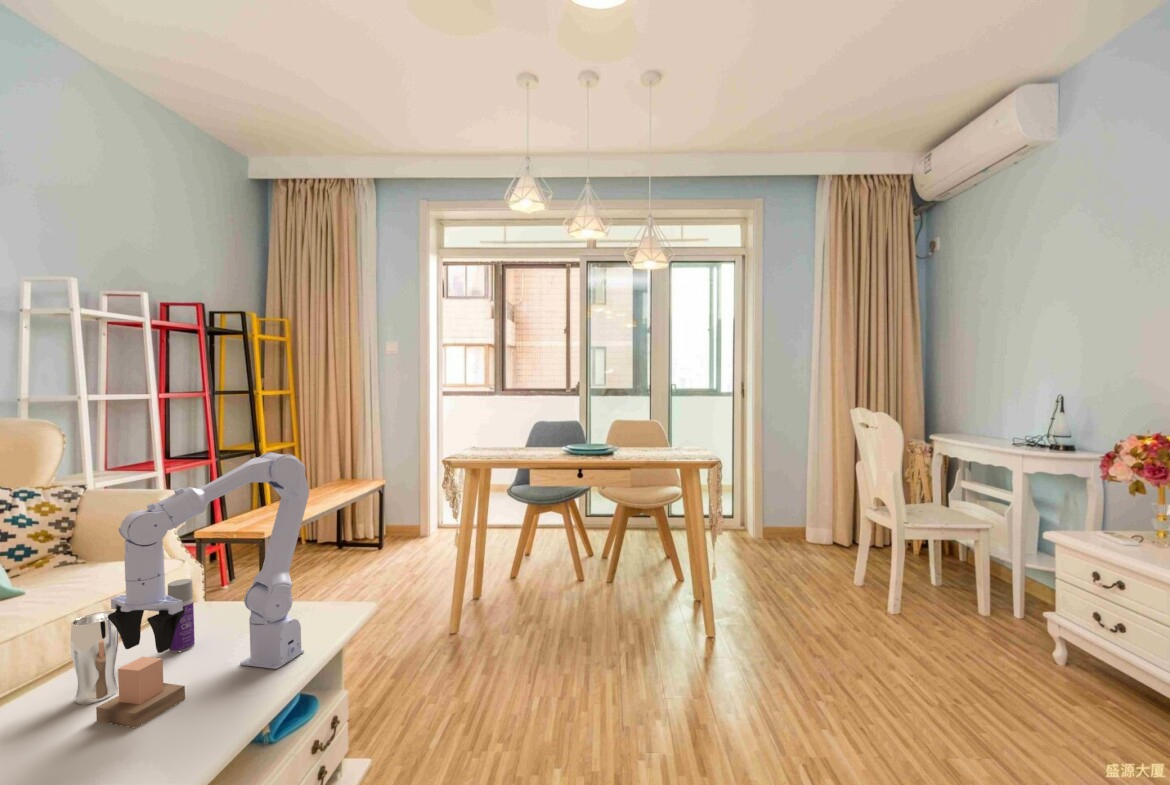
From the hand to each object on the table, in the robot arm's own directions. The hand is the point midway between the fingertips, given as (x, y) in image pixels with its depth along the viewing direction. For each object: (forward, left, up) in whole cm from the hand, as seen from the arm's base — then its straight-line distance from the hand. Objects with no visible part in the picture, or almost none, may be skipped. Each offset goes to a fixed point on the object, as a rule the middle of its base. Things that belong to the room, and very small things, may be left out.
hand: (148, 648), depth 103 cm
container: (+15, -19, -11) cm, 27 cm away
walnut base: (-1, +2, -11) cm, 11 cm away
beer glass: (+13, 0, -11) cm, 17 cm away
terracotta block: (-1, +2, -8) cm, 8 cm away
